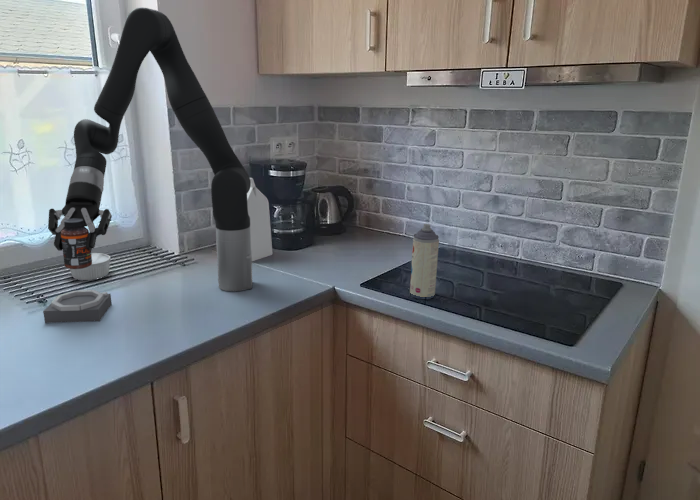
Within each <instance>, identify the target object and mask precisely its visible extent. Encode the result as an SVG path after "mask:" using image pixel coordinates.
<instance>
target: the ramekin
mask: <svg viewBox="0 0 700 500" xmlns="http://www.w3.org/2000/svg"><path fill="white" fill-rule="evenodd" d="M91 256H92V264H91V265H90V266H89V267H86V268H82V269H69V271H70V273H71V277H73V278H74V279H75V280H77V279H78V280H77V281H83V280H88V281H93V280H92V279H96V280H98V279H97V278H100V279H102V278H101V277H103V278H105V277H107V275H108V274H109V272H110V266H111V265H110V262H111V261H112V259H111V256H110V255H109V254H106V253H99V252H91ZM104 276H105V277H104Z"/></svg>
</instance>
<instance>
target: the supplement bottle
mask: <svg viewBox="0 0 700 500" xmlns="http://www.w3.org/2000/svg"><path fill="white" fill-rule="evenodd" d="M64 226H65V227H64V229H63V230H62V231H61V240H62V248H63V249H62V255H63V263H64V267H65V268H66V269H69V270H70V269H82V268H86V267H89V266H90V265H91V264H92V256H91V253H92V250H91V251H88V250H87V249H86V241H87V236H88V233H90V231H89V229H88V227H86V226H84V223H83V219H79V218H73V219H67V220H65V221H64Z"/></svg>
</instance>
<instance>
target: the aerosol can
mask: <svg viewBox="0 0 700 500" xmlns="http://www.w3.org/2000/svg"><path fill="white" fill-rule="evenodd" d="M412 238H413V239H412V249H411V250H412V252H411V254H412V255H411V269H410V283H409V294H410V293H411V294H413V295H416V296H420V297H431V296H434V295H436V286H437V285H436V284H437V270H438V259H439V257H438V256H439V245H440V239H439V235H438V234H436V232H435V231H434V230H433V229H432V228H431V224H430V223H423V227H422V228H421V229H420V230H419V231H417V232H415V233H414V234H413V237H412Z"/></svg>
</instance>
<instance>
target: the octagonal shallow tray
mask: <svg viewBox="0 0 700 500" xmlns="http://www.w3.org/2000/svg"><path fill="white" fill-rule="evenodd" d="M112 305H113V304H112V295H111V293H108V292H106V291H103V292H100V291H98V290H95V289H86V290H85V289H81V290H80V289H78V290H72V291H69V292H66V293H63V294H59V295H57V296H56V297H54V299H53V300H52V301H51V302H50V304H49V305H48V306H47V307H46V308H45V309H44V310H43V312H42V313H43V318H44V324H56V323H57V324H58V323H59V324H60V323H61V324H62V323H84V322H86V323H87V322H101V320H102V319H103V318H104V316H105V315H106V313H107V312H108V310H109V309H110V308H111V306H112Z"/></svg>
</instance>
